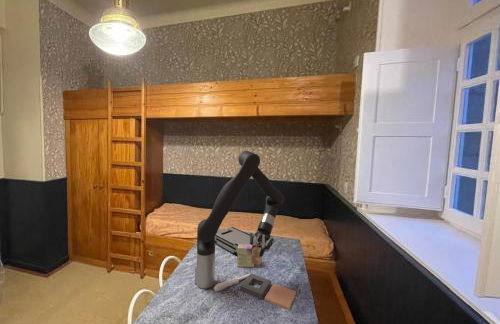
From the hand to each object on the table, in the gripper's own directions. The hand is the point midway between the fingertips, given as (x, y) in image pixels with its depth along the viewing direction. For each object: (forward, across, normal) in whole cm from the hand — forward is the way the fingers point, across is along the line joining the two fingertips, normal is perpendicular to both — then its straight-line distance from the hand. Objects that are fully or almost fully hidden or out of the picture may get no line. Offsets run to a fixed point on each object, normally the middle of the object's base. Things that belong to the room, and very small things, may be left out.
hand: (256, 255), depth 106 cm
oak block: (+2, 0, +4) cm, 4 cm away
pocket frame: (+12, 0, +13) cm, 18 cm away
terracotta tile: (+12, +14, +13) cm, 22 cm away
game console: (-11, -32, +38) cm, 51 cm away
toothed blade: (+14, -12, +12) cm, 22 cm away
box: (+1, -14, +25) cm, 29 cm away
